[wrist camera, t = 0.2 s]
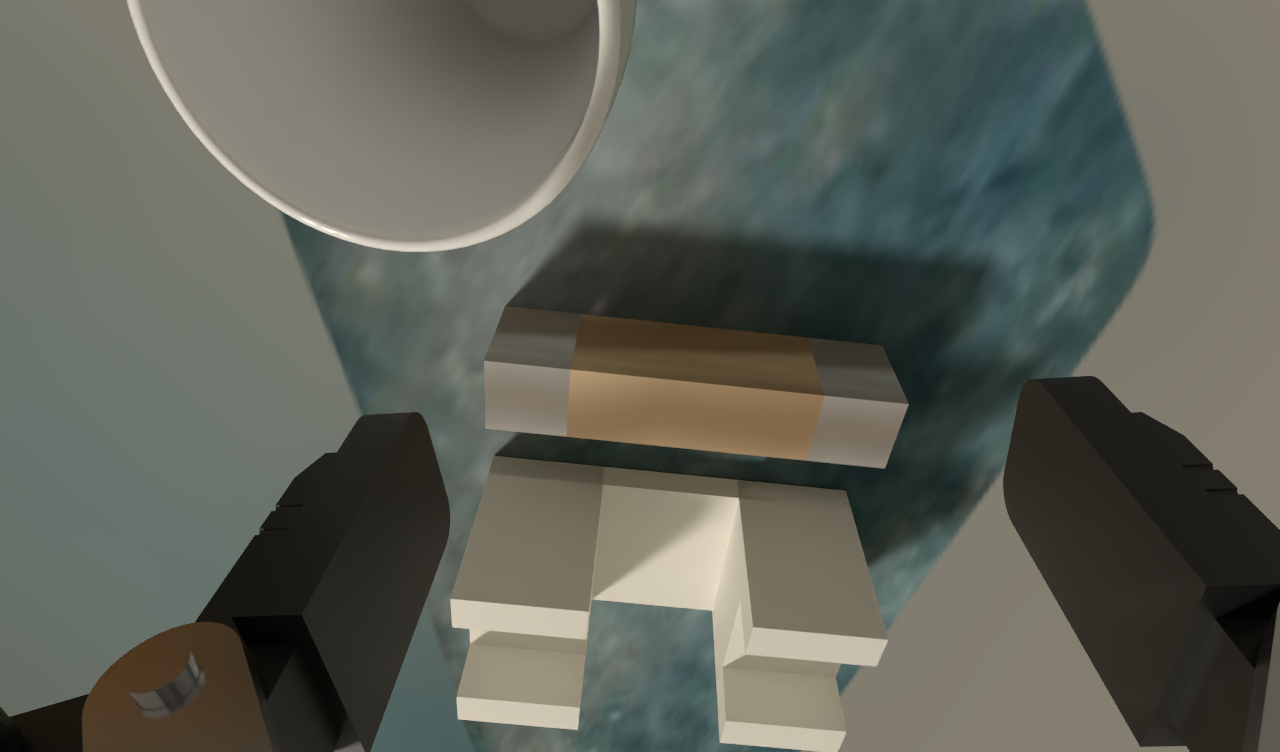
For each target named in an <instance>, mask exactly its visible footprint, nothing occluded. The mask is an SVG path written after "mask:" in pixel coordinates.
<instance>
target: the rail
mask: <svg viewBox="0 0 1280 752" xmlns="http://www.w3.org/2000/svg"><path fill="white" fill-rule="evenodd" d="M484 375H485V427H486V429H494V430H504V431H514V432H524V433H534V434H544V435H554V436H564V437H574V438H584V439H594V440H604V441H614V442H624V443H634V444H644V445H654V446H664V447H674V448H684V449H694V450H704V451H714V452H724V453H734V454H744V455H754V456H764V457H774V458H784V459H794V460H804V461H814V462H824V463H834V464H844V465H854V466H864V467H874V468H884V469H885V467H886V464H887V462H888V459H889V456H890V453H891V451H892V448H893V445H894V443H895V440H896V437H897V435H898V432H899V429H900V427H901V424H902V421H903V419H904V416H905V413H906V411H907V408H908V405H909V404H908V401H907V399H906V397H905V395H904V393H903V390H902V388H901V386H900V384H899V381H898V379H897V377H896V375H895V373H894V370H893V368H892V366H891V364H890V362H889V359H888V357H887V355H886V353H885V351H884V348H883V346H882V345H874V344H864V343H855V342H845V341H836V340H826V339H817V338H807V337H797V336H788V335H778V334H769V333H759V332H750V331H740V330H731V329H721V328H711V327H702V326H692V325H683V324H673V323H664V322H654V321H644V320H635V319H625V318H616V317H606V316H597V315H587V314H578V313H568V312H558V311H549V310H539V309H530V308H520V307H511V306H505V308H504V311H503V313H502V316H501V319H500V321H499V324H498V326H497V329H496V332H495V334H494V337H493V339H492V342H491V345H490V347H489V350H488V352H487V355H486V357H485V360H484Z"/></svg>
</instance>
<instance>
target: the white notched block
mask: <svg viewBox="0 0 1280 752" xmlns="http://www.w3.org/2000/svg"><path fill="white" fill-rule="evenodd" d="M592 599H595V600H605V601H616V602H626V603H637V604H648V605H658V606H669V607H680V608H690V609H701V610H711V611H712V614H713V631H714V649H715V667H716V684H717V702H718V719H719V737H720V743H730V744H741V745H752V746H764V747H775V748H786V749H797V750H809V751H820V752H838V750H839V748H840V746H841V744H842V741H843V739H844V737H845V735H846V732H847V730H846V726H845V721H844V716H843V711H842V706H841V701H840V696H839V692H838V687H837V682H836V675H837V673H838V671H839V668H840V666H841V663H844V664H854V665H865V666H877V664H878V662H879V660H880V657H881V655H882V653H883V651H884V649H885V646H886V644H887V642H888V637H887V633H886V630H885V626H884V623H883V619H882V616H881V612H880V609H879V605H878V602H877V598H876V595H875V591H874V588H873V584H872V581H871V577H870V574H869V570H868V567H867V563H866V560H865V556H864V553H863V549H862V546H861V542H860V539H859V535H858V532H857V528H856V525H855V521H854V518H853V514H852V511H851V507H850V504H849V500H848V497H847V493H846V491H845V490H835V489H825V488H815V487H805V486H794V485H784V484H774V483H764V482H754V481H744V480H734V479H724V478H714V477H704V476H694V475H683V474H673V473H663V472H653V471H643V470H633V469H623V468H613V467H603V466H593V465H583V464H572V463H562V462H552V461H542V460H532V459H522V458H512V457H502V456H494V458H493V461H492V464H491V468H490V471H489V474H488V478H487V481H486V484H485V487H484V491H483V494H482V497H481V500H480V504H479V507H478V510H477V514H476V517H475V520H474V523H473V527H472V530H471V533H470V536H469V540H468V543H467V546H466V550H465V553H464V556H463V559H462V563H461V566H460V569H459V573H458V576H457V579H456V582H455V586H454V589H453V592H452V595H451V615H452V627H455V628H466V629H470V647H469V651H468V655H467V659H466V663H465V666H464V670H463V674H462V678H461V682H460V685H459V689H458V693H457V711H458V719H461V720H473V721H484V722H495V723H506V724H517V725H529V726H540V727H551V728H562V729H573V730H578V722H579V713H580V704H581V694H582V685H583V676H584V667H585V658H586V649H587V639H588V630H589V621H590V612H591V603H592Z"/></svg>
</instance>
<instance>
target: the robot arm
mask: <svg viewBox="0 0 1280 752" xmlns="http://www.w3.org/2000/svg"><path fill="white" fill-rule="evenodd" d="M1003 490H1004V499H1005V504H1006V508H1007V511H1008V515H1009V517H1010V520H1011V522H1012V524H1013V525H1014V527H1015V529H1016V531H1017V532H1018V534H1019V536H1020V538H1021V539H1022V541H1023V543H1024V544H1025V546H1026V548H1027V550H1028V551H1029V553H1030V555H1031V557H1032V558H1033V560H1034V562H1035V564H1036V566H1037V567H1038V569H1039V571H1040V572H1041V574H1042V576H1043V578H1044V579H1045V581H1046V583H1047V585H1048V586H1049V588H1050V590H1051V591H1052V593H1053V595H1054V597H1055V599H1056V600H1057V602H1058V604H1059V606H1060V607H1061V609H1062V611H1063V612H1064V614H1065V616H1066V618H1067V619H1068V621H1069V623H1070V625H1071V627H1072V628H1073V630H1074V632H1075V634H1076V635H1077V637H1078V639H1079V640H1080V642H1081V644H1082V646H1083V648H1084V649H1085V651H1086V653H1087V654H1088V656H1089V658H1090V660H1091V661H1092V663H1093V665H1094V667H1095V668H1096V670H1097V672H1098V674H1099V675H1100V677H1101V679H1102V681H1103V682H1104V684H1105V686H1106V688H1107V689H1108V691H1109V693H1110V694H1111V696H1112V698H1113V700H1114V702H1115V703H1116V705H1117V707H1118V709H1119V710H1120V712H1121V714H1122V715H1123V717H1124V719H1125V721H1126V722H1127V724H1128V726H1129V728H1130V730H1131V731H1132V733H1133V735H1134V736H1135V738H1136V740H1137V742H1138V743H1139V745H1140V747H1147V746H1148V747H1149V746H1187V748H1188V749H1189V751H1190V752H1280V530H1279V529H1278V528H1277V527H1276V526H1275V525H1274V524H1273V523H1272V522H1271V521H1270V520H1269V519H1268V518H1267V517H1266V516H1265V515H1264V514H1263V513H1262V512H1261V511H1260V510H1259V509H1258V508H1257V507H1256V506H1255V505H1254V504H1253V503H1252V502H1251V501H1250V500H1249V499H1248V498H1247V497H1246V496H1245V495H1243V494H1242V495H1238V493H1237V488H1236V486H1235V485H1234V484H1232V483H1231V482H1230V481H1229V480H1228V479H1227V478H1226V477H1225V476H1224V475H1223V474H1222V473H1221V472H1220V471H1219V470H1213V464H1212V463H1211V462H1210V461H1209V460H1208V459H1207V458H1206V457H1205V456H1204V455H1203V454H1202V453H1201V452H1200V451H1199V450H1198V449H1197V448H1196V447H1195V446H1194V445H1193V444H1192V443H1191V442H1190V441H1189V440H1188V439H1187V438H1186V437H1185V436H1184V435H1182V434H1180V433H1179V432H1177V431H1175V430H1173V429H1171V428H1169V427H1168V426H1166V425H1164V424H1162V423H1160V422H1159V421H1157V420H1155V419H1153V418H1151V417H1149V416H1148V415H1146V414H1144V413H1142V412H1137V413H1131V412H1130V411H1129V410H1128V409H1127V408H1126V407H1125V406H1124V405H1123V404H1122V403H1121V401H1120V400H1118V398H1117V397H1115V395H1114V394H1113V393H1112V392H1111V391H1110V390H1109V389H1108V388H1107V387H1106V386H1105V385H1104V384H1103V383H1102V382H1101V381H1100V380H1099V379H1098V378H1096V377H1093V376H1082V377H1063V378H1045V379H1031V380H1028V381H1027V382H1026V383H1025V384H1024V386H1023V387H1022V390H1021V392H1020V396H1019V401H1018V406H1017V411H1016V416H1015V421H1014V426H1013V431H1012V436H1011V441H1010V446H1009V451H1008V456H1007V461H1006V466H1005V471H1004V478H1003ZM449 528H450V509H449V502H448V497H447V494H446V490H445V486H444V483H443V479H442V476H441V472H440V469H439V465H438V462H437V458H436V455H435V451H434V448H433V444H432V441H431V437H430V434H429V430H428V427H427V424H426V422H425V420H424V418H423V417H422V415H421V414H419V413H418V412H411V413H393V414H376V415H364V416H362V417H360V418H359V419H358V421H357V422H356V424H355V425H354V427H353V428H352V430H351V432H350V433H349V434H348V436H347V438H346V439H345V441H344V442H343V444H342V445H341V447H340V449H339V450H338V452H337V453H325V454H324V455H323V456H322V457H320V458H319V459H318V460H316V461H315V462H314V463H313V464H311V465H310V466H309V467H308V468H306V469H305V470H304V471H303V472H301V473H300V474H299V475H298V476H296V477H295V478H294V479H293V481H292V482H291V484H290V485H289V487H288V488H287V490H286V491H285V493H284V494H283V495H282V497H281V498H280V500H279V501H278V503H277V504H276V510H275V511H271V513H270V514H269V516H268V517H267V519H266V520H265V522H264V523H263V524H262V526H261V527H260V529H259V530H260V534H259V535H255V536H254V537H253V539H252V540H251V542H250V543H249V545H248V546H247V548H246V549H245V550H244V552H243V554H242V555H241V556H240V558H239V559H238V561H237V562H236V564H235V565H234V566H233V568H232V569H231V571H230V572H229V574H228V575H227V577H226V578H225V580H224V581H223V582H222V584H221V585H220V587H219V588H218V590H217V591H216V592H215V594H214V596H213V597H212V598H211V600H210V601H209V603H208V604H207V606H206V607H205V608H204V610H203V611H202V613H201V614H200V616H199V617H198V619H197V620H196V622H195V623H190V624H185V625H181V626H178V627H175V628H171V629H169V630H166V631H164V632H161V633H159V634H157V635H155V636H153V637H151V638H149V639H147V640H145V641H144V642H142V643H140V644H139V645H137V646H136V647H134V648H132V649H131V650H130V651H128V652H127V653H126V654H124V655H123V656H122V657H120V658H119V659H118V660H117V661H116V662H115V663H114V664H113V665H112V666H110V668H108V670H107V671H106V672H105V673H104V674H103V675H102V676H101V677H100V678H99V680H98V681H97V683H96V684H95V685H94V687H93V688H92V690H91V692H90V694H87V695H83V696H80V697H77V698H73V699H70V700H66V701H63V702H60V703H56V704H53V705H49V706H46V707H42V708H39V709H36V710H32V711H29V712H26V713H22V714H18V715H15V716H11V717H9V716H8V715H7V714H6V713H5V712H4V710H3V709H2V708H1V707H0V752H370V750H371V747H372V745H373V742H374V739H375V737H376V734H377V731H378V729H379V726H380V723H381V720H382V718H383V715H384V712H385V710H386V707H387V704H388V701H389V698H390V696H391V693H392V690H393V688H394V685H395V682H396V680H397V677H398V674H399V672H400V669H401V666H402V663H403V661H404V658H405V655H406V652H407V650H408V647H409V644H410V642H411V639H412V636H413V634H414V631H415V628H416V625H417V623H418V620H419V617H420V614H421V612H422V609H423V606H424V604H425V601H426V598H427V596H428V593H429V590H430V587H431V585H432V582H433V579H434V577H435V574H436V571H437V568H438V566H439V563H440V560H441V558H442V555H443V552H444V549H445V547H446V544H447V540H448V536H449Z"/></svg>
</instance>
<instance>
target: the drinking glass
mask: <svg viewBox="0 0 1280 752" xmlns="http://www.w3.org/2000/svg"><path fill="white" fill-rule="evenodd" d="M127 3H128V7H129V11H130V15H131V17H132V20H133V23H134V26H135V29H136V32H137V34H138V37H139V40H140V42H141V45H142V47H143V49H144V51H145V54H146V56H147V58H148V60H149V63H150V65H151V67H152V68H153V71H154V72H155V74H156V76H157V78H158V80H159V82H160V84H161V85H162V87H163V89H164V91H165V92H166V94H167V95H168V97H169V99H170V100H171V101H172V103H173V105H174V106H175V108H176V109H177V111H178V113H179V114H180V115H181V117H182V118H183V119H184V121H185V122H186V123H187V125H188V126H189V127H190V129H191V130H192V131H193V133H194V134H195V135H196V136H197V137H198V139H199V140H200V141H201V142H202V143H203V144H204V146H205V147H206V148H207V149H208V150H209V151H210V152H211V153H212V154H213V155H214V156H215V157H216V158H217V159H218V160H219V162H221V164H222V165H223V166H224V167H225V168H226V169H228V170H229V171H230V172H231V173H232V174H233V175H234V176H235V177H236V178H238V179H239V180H240V181H241V182H242V183H243V184H244V185H246V186H247V187H248V188H250V189H251V190H252V191H253V192H255V193H256V194H257V195H259V196H260V197H261V198H263V199H264V200H265V201H267V202H269V203H270V204H272V205H273V206H275V207H276V208H278V209H279V210H281V211H282V212H284V213H286V214H288V215H289V216H291V217H293V218H295V219H297V220H298V221H300V222H302V223H304V224H306V225H308V226H310V227H313V228H315V229H317V230H319V231H321V232H324V233H326V234H329V235H332V236H334V237H337V238H340V239H343V240H345V241H349V242H353V243H356V244H360V245H364V246H368V247H374V248H379V249H385V250H393V251H404V252H433V251H444V250H451V249H456V248H462V247H467V246H470V245H474V244H477V243H481V242H484V241H487V240H490V239H492V238H495V237H497V236H499V235H502V234H504V233H506V232H508V231H510V230H512V229H514V228H516V227H517V226H519V225H521V224H523V223H524V222H526V221H527V220H529V219H530V218H532V217H533V216H535V215H536V214H538V213H539V212H540V211H541V210H542V209H544V208H545V207H546V206H547V205H548V204H549V203H551V202H552V201H553V200H554V199H555V198H556V197H557V196H558V195H559V194H560V193H561V192H562V191H563V190H564V189H565V188H566V187H567V186H568V184H569V183H570V182H571V180H572V179H573V178H574V177H575V175H576V174H577V173H578V171H579V170H580V169H581V167H582V166H583V164H584V162H585V161H586V159H587V158H588V156H589V154H590V153H591V151H592V149H593V147H594V145H595V143H596V141H597V139H598V137H599V135H600V133H601V131H602V128H603V126H604V123H605V121H606V119H607V117H608V115H609V113H610V111H611V109H612V106H613V104H614V101H615V99H616V96H617V93H618V91H619V88H620V85H621V82H622V80H623V76H624V73H625V69H626V65H627V61H628V58H629V54H630V50H631V44H632V38H633V32H634V26H635V16H636V3H637V0H127Z"/></svg>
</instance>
